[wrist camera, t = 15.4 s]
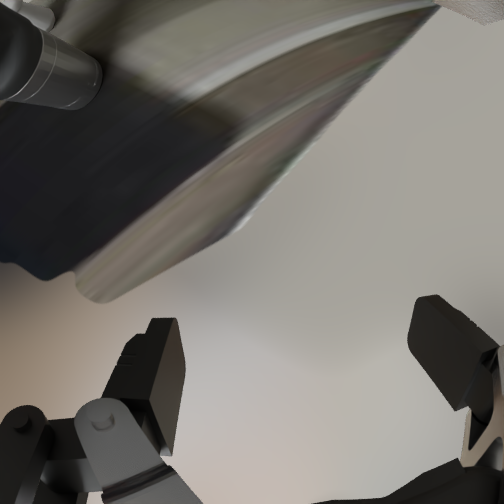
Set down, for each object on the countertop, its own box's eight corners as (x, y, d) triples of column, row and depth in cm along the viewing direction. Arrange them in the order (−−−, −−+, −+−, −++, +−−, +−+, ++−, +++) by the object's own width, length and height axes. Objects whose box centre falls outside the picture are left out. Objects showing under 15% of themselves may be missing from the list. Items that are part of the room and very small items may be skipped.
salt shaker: (50, 7, 30) (12, -16, 18) (64, 19, 31) (25, -6, 19) (29, 32, 31) (-13, 14, 19) (41, 45, 32) (-2, 27, 20)
